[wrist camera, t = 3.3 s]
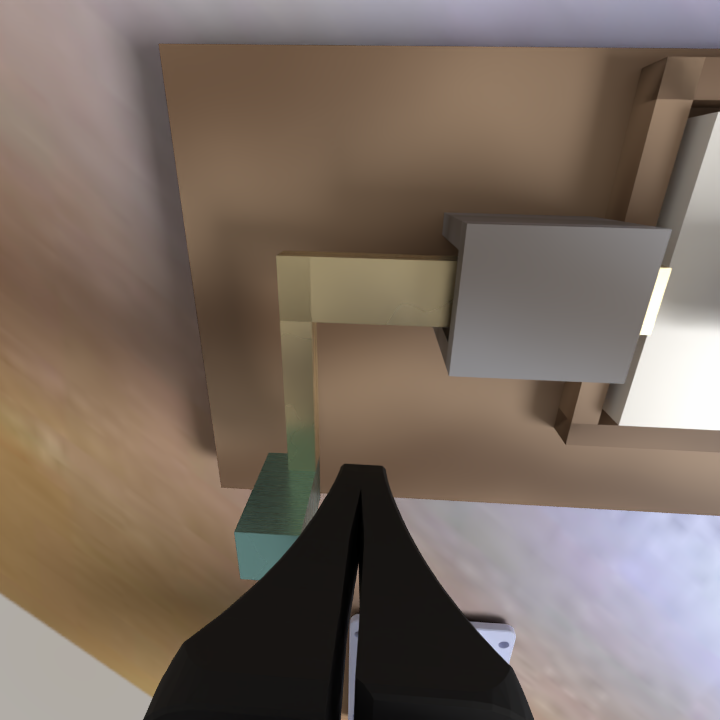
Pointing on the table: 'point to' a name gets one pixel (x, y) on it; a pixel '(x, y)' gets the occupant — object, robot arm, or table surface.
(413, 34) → the table surface
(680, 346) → the cover
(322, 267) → the latch bolt
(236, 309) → the walnut base
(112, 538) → the table surface
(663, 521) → the table surface
